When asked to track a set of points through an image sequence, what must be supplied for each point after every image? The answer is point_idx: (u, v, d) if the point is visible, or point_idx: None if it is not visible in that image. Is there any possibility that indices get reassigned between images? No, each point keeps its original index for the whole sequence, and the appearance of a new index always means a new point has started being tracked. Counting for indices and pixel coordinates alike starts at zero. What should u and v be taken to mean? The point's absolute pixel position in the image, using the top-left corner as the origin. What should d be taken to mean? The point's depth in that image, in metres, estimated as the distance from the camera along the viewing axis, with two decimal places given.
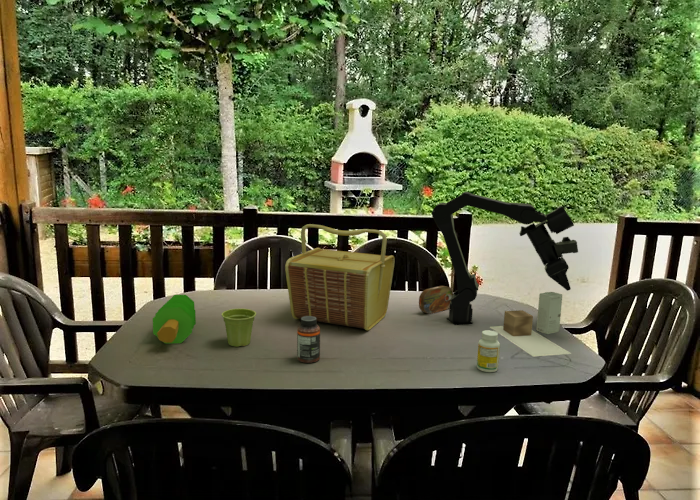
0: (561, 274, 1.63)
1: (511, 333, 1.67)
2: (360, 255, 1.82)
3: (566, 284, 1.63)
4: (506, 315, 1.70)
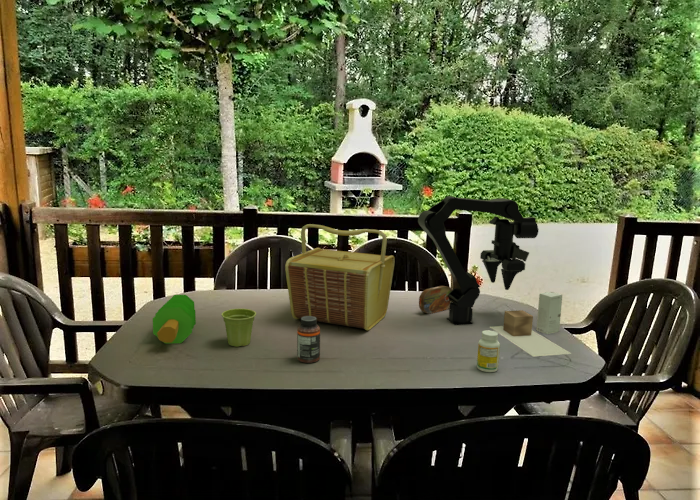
0: (511, 273, 1.73)
1: (511, 333, 1.67)
2: (360, 255, 1.82)
3: (508, 284, 1.74)
4: (506, 315, 1.70)
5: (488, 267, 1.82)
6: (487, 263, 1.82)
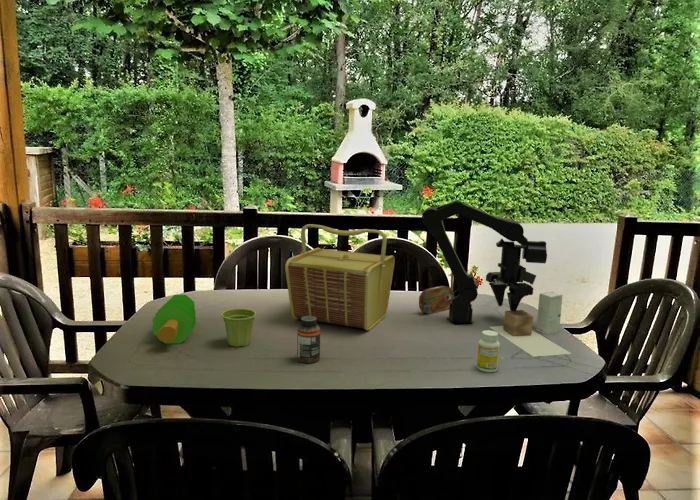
0: (517, 297, 1.70)
1: (511, 333, 1.67)
2: (360, 255, 1.82)
3: (514, 308, 1.71)
4: (506, 314, 1.70)
5: (495, 290, 1.78)
6: (494, 286, 1.78)
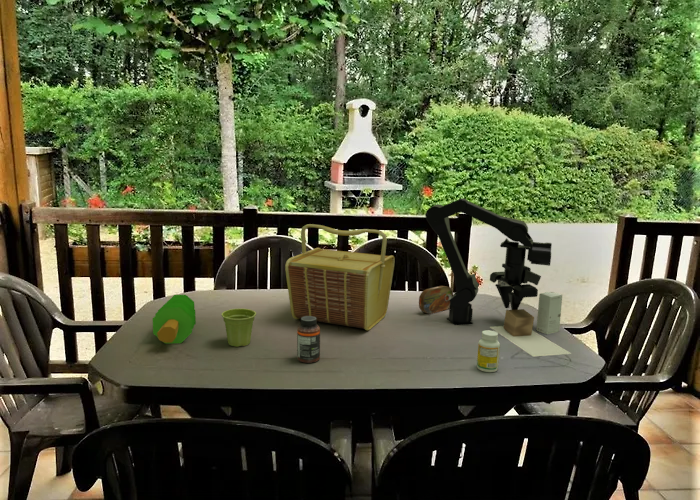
0: (518, 297, 1.69)
1: (511, 333, 1.67)
2: (360, 255, 1.82)
3: (515, 307, 1.70)
4: (507, 314, 1.69)
5: (502, 292, 1.74)
6: (501, 288, 1.74)
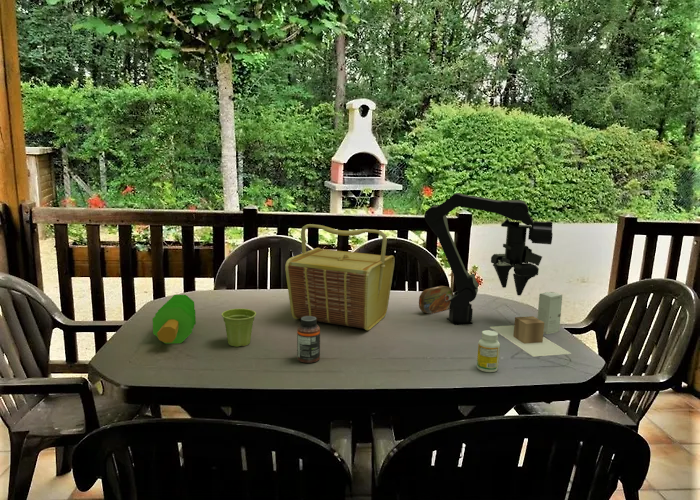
0: (523, 278, 1.66)
1: (514, 332, 1.65)
2: (360, 255, 1.82)
3: (520, 289, 1.67)
4: (523, 326, 1.60)
5: (499, 271, 1.75)
6: (498, 267, 1.75)
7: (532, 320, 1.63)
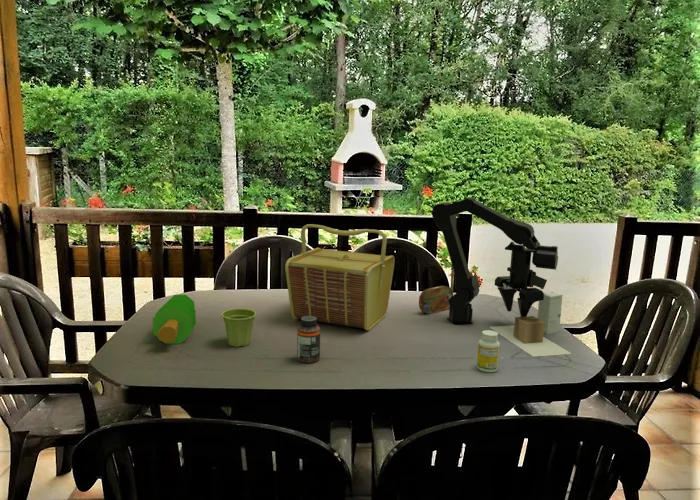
0: (527, 302, 1.64)
1: (514, 332, 1.65)
2: (360, 255, 1.82)
3: (525, 313, 1.65)
4: (523, 326, 1.60)
5: (504, 295, 1.73)
6: (503, 291, 1.73)
7: (533, 320, 1.63)
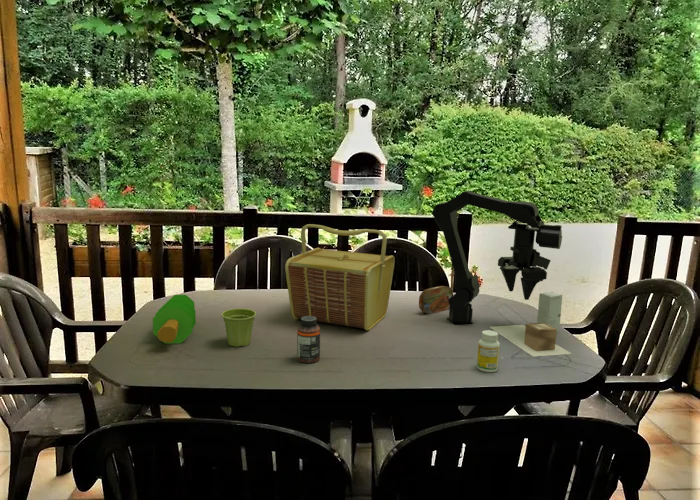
0: (531, 282, 1.62)
1: (528, 326, 1.58)
2: (360, 255, 1.82)
3: (528, 294, 1.63)
4: (533, 346, 1.55)
5: (506, 275, 1.72)
6: (505, 271, 1.71)
7: (549, 341, 1.55)
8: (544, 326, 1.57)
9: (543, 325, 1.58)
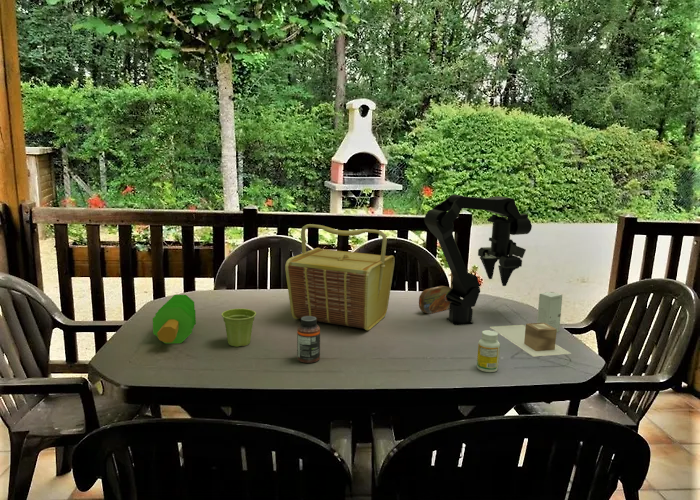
0: (508, 270, 1.76)
1: (528, 326, 1.58)
2: (360, 255, 1.82)
3: (505, 280, 1.78)
4: (533, 346, 1.55)
5: (485, 264, 1.86)
6: (484, 260, 1.86)
7: (549, 341, 1.55)
8: (544, 326, 1.57)
9: (543, 325, 1.58)
